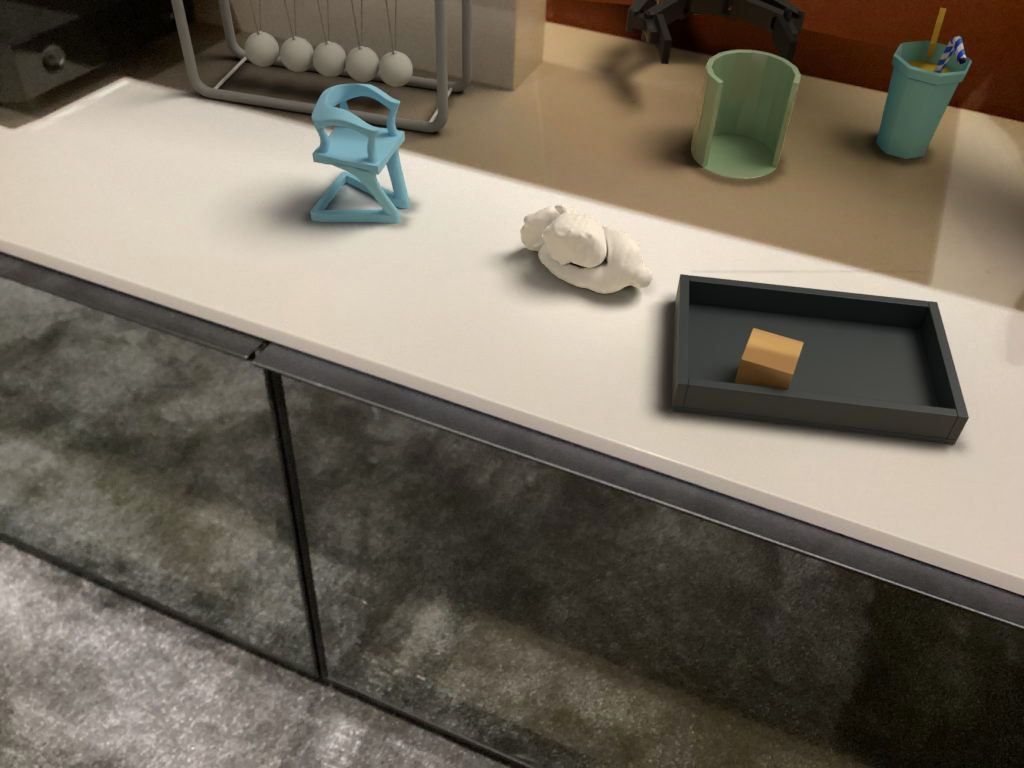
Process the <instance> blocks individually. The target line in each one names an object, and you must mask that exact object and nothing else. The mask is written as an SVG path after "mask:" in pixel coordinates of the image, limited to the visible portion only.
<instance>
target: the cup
mask: <svg viewBox="0 0 1024 768" xmlns="http://www.w3.org/2000/svg"><path fill="white" fill-rule="evenodd" d="M946 11H947V8H946V7H940V8H939V11H938V15H937V18H936V21H935V25H934V29H933V32H932V36H931V38H930V40H918V41H907V42H902V43H900V44H899V45H898V47H897V49H896V51H895V52H894V54H893V56H892V62H891V65H892V66H893V69H892V72H891V78H890V81H889V86H888V90H887V94H886V99H885V104H884V106H883V112H882V116H881V121H880V125H879V129H878V132H877V133H878V134H877V138H876V142H875V144H876V145H877V146H878V147H879V148H880V149H881V151H883V152H884V153H885V154H887V155H890V156H894V157H897V158H901V159H905V160H909V159H916V158H922V159H923V157H925V153H926V151H927V150H928V147H929V145H930V144H931V141H932V139H933V137H934V135H935V133H936V131H937V129H938V127H939V125H940V122H941V120H942V118H943V117H944V115H945V113H946V110H947V108H948V106H949V104H950V102H951V100H952V98H953V95H954V94H955V92H956V89H957V87H958V85H959V84H960V83H963V81H964V79H965V77H966V75H967V73H968V72H969V69H970V67H971V66H972V65H971V64H972V63H973V61H972V59H971V58H970V57H968V56H967V55H966V51H965V47H964V42H963V37H961V36H960V35H958V36H954V37H952V38H950V40H949V41H948V43H947V44H944V43H939V42H938V39H939V35H940V32H941V29H942V26H943V23H944V19H945V15H946Z"/></svg>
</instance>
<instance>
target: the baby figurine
mask: <svg viewBox="0 0 1024 768" xmlns="http://www.w3.org/2000/svg"><path fill="white" fill-rule="evenodd" d="M523 223H524V224H523V225H522V227H521V228H520V230H519V232H520V241H521V243H522V244H523V245H524V247H525V248H526V249H527V250H530V251H532V252H533V251H534V252H538V255H537V256H538V260H539V261H540V262H541V264H542V265H543V266H545V268H546V269H548V271H549V272H550V273H551V274H552V275H554V276H555V277H556V278H557V279H560V280H562V281H564V282H566V283H567V284H570V285H572V286H575V287H577V288H581V289H587V290H590V291H592V292H595V293H597V294H603V295H605V294H606V295H607V294H613V293H616V292H618V291H621V290H623V289H624V288H626V287H628V286H632V287H634V288H637V289H645V288H648V287H649V286H650V284H651V283H652V282H653V272H652V270H650V269H651V268H649V267H647V266H646V265H645V263H644V258H643V249H642V246H641V245H640V244H639V242H638V241H637V240H636V239H635V238H634V237H633V236H632V235H630V234H628V233H626V232H624V231H622V230H621V229H617V228H615V227H611V226H609V225H605V224H603V225H602V224H601V223H600V222H599V221H598V220H597V219H596V218H594V217H593V216H591V215H589V214H585V213H581V212H580V213H579V211H577V210H576V209H575V208H574V207H572V206H571V205H570V204H567V203H563V204H556V205H555V206H553V205H551V206H550V205H549V206H546V207H544V208H542V209H539V210H537V211H536V212H533V213H530V214H527V215H525V216H524V217H523ZM605 260H606V262H607V263H606V264H603V262H604V261H605ZM571 263H572V264H571ZM574 264H575V265H574ZM577 265H578V266H577ZM579 266H580V267H579Z"/></svg>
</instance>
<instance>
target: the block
mask: <svg viewBox="0 0 1024 768" xmlns="http://www.w3.org/2000/svg"><path fill="white" fill-rule="evenodd" d="M803 344H804V342H801V341H797V340H794V339H790V338H787V337H783V336H780V335H776V334H773V333H770V332H766V331H763V330H759V329H756V328H753V330H752V332H751V335H750V337H749V340H748V342H747V345H746V348H745V350H744V353H743V355H742V358H741V361H740V365H739V368H738V372H737V376H736V379H735V383H736V384H744V385H753V386H761V387H770V388H779V389H787V390H788V389H789V386H790V383H791V380H792V377H793V374H794V371H795V368H796V365H797V362H798V359H799V356H800V353H801V350H802V347H803Z"/></svg>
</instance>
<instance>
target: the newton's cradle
mask: <svg viewBox="0 0 1024 768" xmlns="http://www.w3.org/2000/svg"><path fill="white" fill-rule="evenodd" d="M261 1H262V0H258V7H259V27H258V23H257V19H256V15H255V10H254V6H253V2H252V0H249V3H250V8H251V12H252V16H253V20H254V24H255V28H256V32H253V33H252V34H250V35H249V36H248V37H247V38H246V40H245V43H244V49H243V48H241V46H240V45H239V44H238V42H237V39H236V33H235V28H234V23H233V17H232V11H231V6H230V0H218V5H219V11H220V16H221V21H222V27H223V32H224V38H225V42H226V45H227V48H228V49H229V50H230V52H231V53H232V54H233V55H234V56H235V57H236V58H238V59H240V60H239V61H238V63H237V64H236V65H235V66H233V67H232V68H231V69H230V71H228V72H227V74H226V75H225V76H224V77H223V78H222V79H221V80H220V81H219V82H218V83H216V85H215V86H214V87H210V86H208V85H206V84H205V83H204V82H203V81H202V80H201V79H200V76H199V72H198V67H197V62H196V58H195V53H194V49H193V48H194V47H193V43H192V39H191V34H190V30H189V24H188V21H187V15H186V10H185V6H184V2H183V0H170V2H171V7H172V11H173V15H174V19H175V20H174V21H175V25H176V29H177V33H178V38H179V43H180V47H181V50H182V52H181V53H182V56H183V61H184V65H185V69H186V75H187V78H188V81H189V84H190V85H191V86H192V88H193V89H194V90H195V91H196V92H197V93H198V94H200V96H203V97H205V98H207V99H208V98H209V99H213V100H220V101H224V102H232V103H233V102H234V103H236V104H237V103H238V104H244V105H250V106H257V107H263V108H271V109H275V110H282V111H289V112H296V113H301V114H307V115H312V113H313V110H314V108H315V105H316V103H312V102H311V103H309V102H303V101H297V100H292V99H291V100H290V99H285V98H278V97H272V96H265V95H258V94H253V93H248V92H247V93H246V92H240V91H233V90H228V89H221V87H222V85H224V83H225V82H226V81H227V80H228V79H229V78H231V76H232V75H233V74H234V73H235V72H236V71H237V70H238V69H239V68H240V67H241V66H243V64H244V63H245V62H250V63H252V64H253V65H255V66H256V67H259V68H267V67H270V66H274V67H282V68H286V69H287V70H289V71H291V72H294V73H303V72H306V71H309V72H316V73H319V74H320V75H321V76H323V77H327V78H334V77H338V76H342V77H349V78H352V79H353V80H354V81H356V82H359V83H367V82H371V81H375V82H381V83H385V84H386V85H387V86H389V87H393V88H400V87H403V86H409V87H414V88H421V89H427V90H436V95H437V96H436V99H437V101H436V103H437V104H436V105H437V107H436V109H435V111H434V112H433V114H432V116H431V117H430V119H429V120H428V121H424V120H420V119H419V120H418V119H414V118H413V119H412V118H408V117H407V118H406V117H399V116H396V119H395V126H396V129H401V130H402V129H404V130H409V131H414V132H415V131H416V132H422V133H430V134H432V133H436V132H439V131H441V130H442V129H443V128H445V126H446V125H447V122H448V119H449V97H450V95H451V94H452V93H459V92H462V91H464V90H466V89H467V88H468V87H469V86H470V84H471V82H472V79H473V0H461V77H460V79H459V80H458V81H449V80H448V78H449V77H448V76H449V75H448V30H447V29H448V27H447V26H448V25H447V24H448V23H447V22H448V21H447V0H434V27H435V30H434V32H435V64H436V65H435V66H436V68H435V69H436V78H428V77H421V76H415V75H413V70H414V67H413V63H412V60H411V59H410V58H409V57H408V56H407V54H405V53H403V52H401V51H398V50H397V44H398V43H397V42H398V41H397V38H398V37H397V36H398V35H397V34H398V33H397V31H398V29H397V27H398V24H397V23H398V21H397V20H398V19H397V18H398V0H394V4H395V5H394V41H393V34H392V26H391V20H390V19H391V18H390V12H389V5H388V0H385V7H386V14H387V22H388V29H389V36H390V43H391V50H392V51H389V52H387V53H385V54H384V55H383V56H382V57H381V58H380V59H379V56H378V54H377V53H376V52H375V51H374V50H373V49H372V48H370V47H368V46H364V18H363V17H364V16H363V15H364V13H363V11H364V10H363V8H364V7H363V0H360V27H361V28H360V30H361V31H360V33H361V35H359V31H358V24H357V19H356V12H355V8H354V7H355V6H354V1H353V0H350V3H351V10H352V15H353V20H354V27H355V33H356V38H357V44H358V46H356V47H354V48H352V49H350V51H349V52H348V53H346V51H345V50H344V48H343V47H342V46H341V45H339V43H337V42H333V41H331V32H330V1H329V0H326V5H327V7H326V8H327V9H326V10H327V35H328V36H327V35H326V30H325V29H326V28H325V25H324V20H323V14H322V10H321V6H320V5H321V4H320V1H319V0H316V2H317V8H318V12H319V17H320V22H321V26H322V31H323V36H324V41H323V42H321V43H320V44H318V45H317V46H316V47H315V48H313V45H312V44H311V43H310V42H309V41H308V40H307V39H305V38H303V37H300V36H298V27H297V7H296V0H293V10H294V12H293V13H294V29H295V30H293V27H292V26H293V25H292V23H291V17H290V14H289V9H288V4H287V1H286V0H283V2H284V6H285V11H286V16H287V19H288V24H289V28H290V32H291V36H292V37H289V38H287V39H286V40H285V41H284V42H283V43H282V44H281V47H279V43H278V41H277V40H276V38H275V37H274V36H273V35H272V34H270V33H268V32H265V31H263V27H262V26H263V25H262V23H263V22H262V2H261ZM294 31H295V32H294ZM294 33H295V35H294ZM359 36H361V42H360V37H359ZM349 112H351V113H352V114H354V115H356V116H357V117H359V118H360V119H362V120H363V121H365V122H366V123H368V124H370V125H376V126H383V127H387V119H388V114H380V113H375V112H374V113H373V112H367V111H361V110H355V109H349Z"/></svg>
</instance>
